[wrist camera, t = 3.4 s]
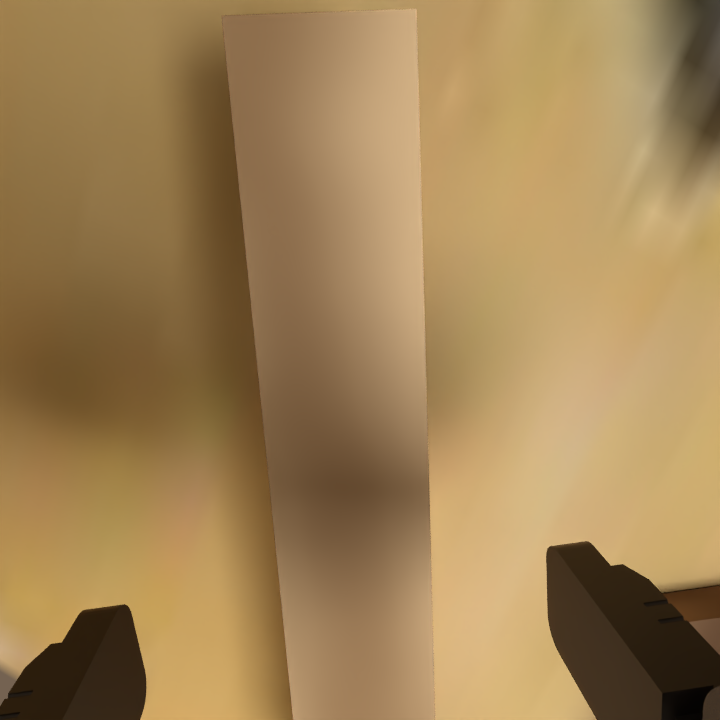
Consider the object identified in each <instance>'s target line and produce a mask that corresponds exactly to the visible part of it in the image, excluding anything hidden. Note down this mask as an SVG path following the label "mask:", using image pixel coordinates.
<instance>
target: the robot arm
mask: <svg viewBox="0 0 720 720" xmlns="http://www.w3.org/2000/svg"><path fill="white" fill-rule="evenodd" d="M546 563H547V603H548V621H549V626H550V631H551V634H552V638H553V641H554V643H555V646H556V648H557V650H558V652H559V654H560V656H561V657H562V659H563V661H564V663H565V664H566V666H567V668H568V670H569V671H570V673H571V675H572V677H573V678H574V680H575V682H576V684H577V685H578V687H579V689H580V691H581V692H582V694H583V696H584V698H585V700H586V701H587V703H588V705H589V707H590V708H591V710H592V712H593V714H594V715H595V717H596V719H597V720H720V655H719V654H718V653H717V652H716V651H715V649H714V648H713V647H712V646H711V645H710V644H709V643H708V642H707V641H706V640H705V639H704V638H703V637H702V636H701V635H700V633H699V632H698V631H697V630H696V629H695V628H694V627H693V626H692V625H691V624H690V623H689V622H688V621H687V620H686V621H685V620H684V618H683V615H682V614H681V613H680V612H679V611H678V610H677V609H676V608H675V607H674V606H673V605H672V604H671V603H670V604H669V603H668V600H667V598H666V597H665V596H664V595H663V594H662V593H661V592H660V591H659V590H658V589H657V588H656V587H655V586H654V584H653V583H652V582H651V581H650V580H649V579H647V578H645V577H644V576H642V575H640V574H638V573H637V572H635V571H633V570H632V569H630V568H628V567H626V566H625V565H623V564H621V565H614V566H610V564H609V563H608V562H607V561H606V560H605V559H604V557H603V556H602V555H601V554H600V553H599V552H598V550H597V549H596V548H595V547H594V546H593V545H592V544H591V543H590V542H587V541H585V542H578V543H571V544H564V545H557V546H550V547H549V548H548V549H547V555H546ZM145 698H146V674H145V669H144V665H143V661H142V656H141V652H140V648H139V643H138V639H137V635H136V631H135V626H134V622H133V618H132V614H131V611H130V609H129V607H128V606H127V605H125V604H124V605H117V606H110V607H102V608H95V609H88V610H83V611H82V612H81V613H80V614H79V615H78V617H77V618H76V620H75V622H74V623H73V625H72V627H71V628H70V630H69V632H68V633H67V635H66V637H65V638H64V640H63V642H62V643H55V644H51V645H49V646H48V647H47V648H46V649H45V650H44V651H43V652H42V653H41V654H40V655H38V656H37V657H36V658H35V659H34V660H33V661H32V662H31V663H30V664H29V665H27V666H26V667H25V669H24V670H23V672H22V673H21V675H20V676H19V678H18V679H17V681H16V683H15V684H14V686H13V687H12V689H11V690H10V692H9V693H8V699H4V701H3V703H2V704H1V706H0V720H140V718H141V715H142V712H143V709H144V704H145Z"/></svg>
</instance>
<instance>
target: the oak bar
mask: <svg viewBox="0 0 720 720" xmlns="http://www.w3.org/2000/svg"><path fill="white" fill-rule="evenodd" d="M222 24H223V34H224V44H225V54H226V64H227V74H228V83H229V93H230V103H231V113H232V123H233V133H234V142H235V152H236V162H237V172H238V182H239V192H240V202H241V211H242V221H243V231H244V241H245V251H246V261H247V271H248V280H249V290H250V300H251V310H252V320H253V330H254V339H255V349H256V359H257V369H258V379H259V389H260V399H261V408H262V418H263V428H264V438H265V448H266V458H267V468H268V477H269V487H270V497H271V507H272V517H273V527H274V536H275V546H276V556H277V566H278V576H279V586H280V596H281V605H282V615H283V625H284V635H285V645H286V655H287V665H288V674H289V684H290V694H291V704H292V714H293V720H435V688H434V650H433V612H432V574H431V536H430V498H429V460H428V422H427V384H426V346H425V308H424V270H423V232H422V195H421V157H420V119H419V81H418V43H417V9H393V10H365V11H337V12H309V13H281V14H253V15H225V16H222Z"/></svg>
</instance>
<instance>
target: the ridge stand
mask: <svg viewBox="0 0 720 720" xmlns="http://www.w3.org/2000/svg"><path fill="white" fill-rule="evenodd" d="M663 595H664V596H665V597H666V598H667V600H668V603H669V604H670V603H671V604H672V605H673V606H674V607H675V608H676V609H677V610H678V611H679V612H680V613H681V614H682V615H683V618H684V620H685V621H686V620H687V621H688V622H689V623H690V624H691V625H692V626H693V627H694V628H695V629H696V630H697V631H698V632H699V633H700V635H701V636H702V637H703V638H704V639H705V640H706V641H707V642H708V643H709V644H710V645H711V646H712V647H713V648H714V649H715V651H716V652H717V653H718V654H719V655H720V586H714V587H707V588H700V589H693V590H685V591H678V592H671V593H664V594H663Z"/></svg>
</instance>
